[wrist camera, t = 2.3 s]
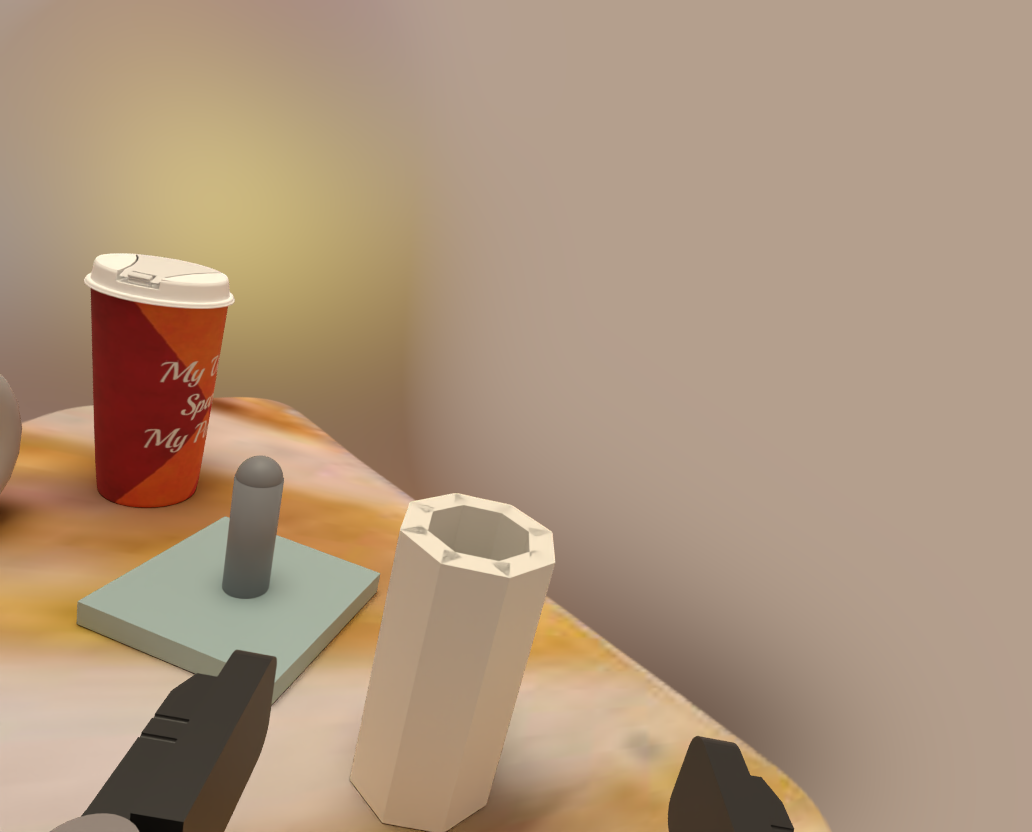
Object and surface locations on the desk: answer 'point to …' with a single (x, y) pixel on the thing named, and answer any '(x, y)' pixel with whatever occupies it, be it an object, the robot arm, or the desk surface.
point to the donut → (8, 432)
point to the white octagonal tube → (450, 658)
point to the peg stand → (234, 591)
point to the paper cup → (153, 373)
